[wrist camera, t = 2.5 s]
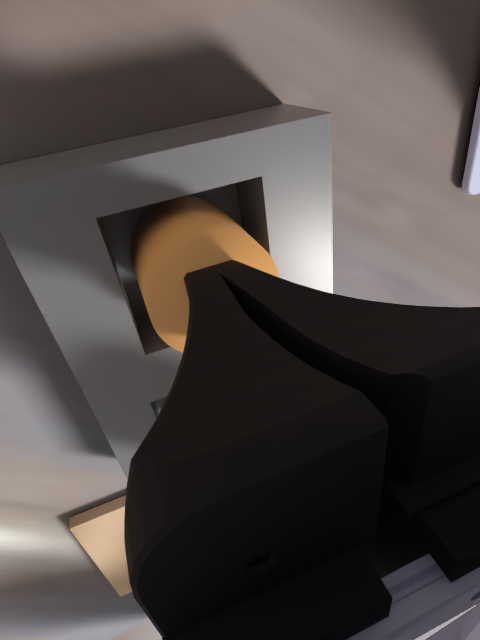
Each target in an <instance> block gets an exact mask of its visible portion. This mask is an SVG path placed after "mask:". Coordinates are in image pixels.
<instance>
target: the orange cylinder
mask: <svg viewBox="0 0 480 640" xmlns="http://www.w3.org/2000/svg"><path fill="white" fill-rule="evenodd" d="M130 256H131V262H132V266H133V269H134V272H135V275H136V278H137V281H138V284H139V287H140V290H141V293H142V296H143V299H144V302H145V305H146V308H147V311H148V314H149V317H150V320H151V322H152V325H153V327H154V329H155V331H156V332H157V334H158V335H159V336H160V338H161V339H162V340H163V341H164V342H165V343H167V344H168V345H169V346H171V347H172V348H174V349H175V350H178V351H180V352H182V353H183V350H184V346H185V342H186V336H187V329H188V320H189V298H188V294H187V290H186V286H185V283H184V279H183V278H184V277H185V275H186V274H187V273H189V272H192V271H196V270H199V269H203V268H206V267H209V266H213V265H216V264H219V263H223V262H226V261H229V260H235V261H238V262H241V263H243V264H246V265H248V266H251V267H253V268H256V269H258V270H261V271H263V272H266V273H268V274H271V275H274V276H276V277H279V274H278V270H277V267H276V265H275V263H274V261H273V259H272V257H271V256H270V255H269V253H268V252H267V251H266V250H265V249H264V248H263V247H262V246H261V245H260V244H259V243H258V242H256V241H255V240H254V239H253V238H252V237H251V236H250V235H249V234H248V233H247V232H246V231H245V230H244V229H243V228H241V227H240V226H239V225H238V224H237V223H236V222H235V221H234V220H233V219H232V218H231V217H230V216H229V215H227V214H226V213H225V212H224V211H223V210H222V209H221V208H220V207H218V206H217V205H216V204H214V203H212V202H211V201H209V200H206V199H203V198H199V197H194V196H182V197H178V198H174V199H170V200H166V201H163V202H161V203H159V204H157V205H156V206H154V207H153V208H151V209H150V210H149V211H148V212H147V213H146V214H145V215H144V216H143V217H142V218H141V220H140V221H139V223H138V224H137V226H136V228H135V230H134V233H133V236H132V240H131V245H130Z"/></svg>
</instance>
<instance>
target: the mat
mask: <svg viewBox="0 0 480 640" xmlns="http://www.w3.org/2000/svg"><path fill="white" fill-rule="evenodd" d="M125 500H126V495H124V496H122V497H119V498H117V499H115V500H112V501H110V502H107V503H105V504H102V505H100V506H97V507H95V508H92V509H90V510H87V511H85V512H82V513H80V514H77V515H75V516H72V517H70V518H69V529H70V531H71V532H72V533H73V535H74V536H75V537H76V538H77V540H78V541H79V542H80V544H81V545H82V546H83V548H84V549H85V550H86V552H87V553H88V554H89V556H90V557H91V558H92V560H93V561H94V562H95V564H96V565H97V566H98V568H99V569H100V570H101V572H102V573H103V574H104V576H105V577H106V578H107V580H108V581H109V582H110V584H111V585H112V586H113V588H114V589H115V590H116V592H117V593H118V594H119V596H120V597H122V596H124V595H126V594H128V593H131V592H132V589H131V586H130V583H129V575H128V568H127V560H126V552H125V541H124V516H125Z"/></svg>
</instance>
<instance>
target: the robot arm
mask: <svg viewBox="0 0 480 640" xmlns="http://www.w3.org/2000/svg"><path fill="white" fill-rule="evenodd" d="M462 189H463V192H465V193H467V194H470V195H476V194H479V193H480V88H479V93H478V99H477V104H476V110H475V115H474V121H473V127H472V132H471V138H470V143H469V149H468V154H467V160H466V165H465V171H464V176H463V182H462ZM183 279H184V283H185V286H186V290H187V294H188V298H189V320H188V329H187V336H186V342H185V346H184V350H183V354H182V358H181V361H180V364H179V367H178V370H177V374H176V377H175V379H174V382H173V384H172V387H171V389H170V391H169V393H168V395H167V398H166V400H165V402H164V404H163V406H162V408H161V410H160V412H159V414H158V416H157V418H156V420H155V422H154V424H153V425H152V427H151V428H150V430H149V432H148V433H147V435H146V436H145V438H144V440H143V441H142V443H141V444H140V446H139V448H138V449H137V451H136V453H135V454H134V456H133V457H132V459H131V462H130V468H129V475H128V482H127V490H126V500H125V516H124V541H125V552H126V560H127V568H128V575H129V583H130V586H131V589H132V592H133V595H134V598H135V599H136V601H137V602H138V603H139V605H140V606H141V608H142V609H143V610H144V612H145V613H146V615H147V616H148V618H149V619H150V620H151V622H152V623H153V625H154V626H155V627H156V629H157V630H158V632H159V633H160V634H161V636H162V639H163V640H414V639H416V638H417V637H419V636H421V635H423V634H425V633H427V632H428V631H430V630H432V629H434V628H435V627H437V626H439V625H441V624H442V623H444V622H446V621H448V620H449V619H451V618H453V617H455V616H457V615H458V614H460V613H462V612H464V611H465V610H467V609H469V608H471V607H472V606H474V605H476V604H477V605H476V607H474V608H473V609H471V610H470V611H468V612H466V613H465V614H463V615H462V616H461V617H459V618H458V619H456V620H454V621H453V622H451V623H450V624H449V625H447V626H445V627H444V628H442V629H441V630H439V631H438V632H436V633H435V634H433V635H432V636H430V637H429V638H427V639H426V640H480V307H463V308H460V307H430V306H413V305H400V304H392V303H383V302H375V301H368V300H362V299H356V298H351V297H346V296H341V295H336V294H332V293H328V292H324V291H320V290H316V289H313V288H309V287H306V286H303V285H299V284H296V283H293V282H290V281H287V280H285V279H282V278H279V277H276V276H274V275H271V274H268V273H266V272H263V271H261V270H258V269H256V268H253V267H251V266H248V265H246V264H243V263H241V262H238V261H235V260H229V261H226V262H223V263H219V264H216V265H213V266H209V267H206V268H203V269H199V270H196V271H192V272H189V273H187V274H186V275H185V277H184V278H183Z"/></svg>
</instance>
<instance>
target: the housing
mask: <svg viewBox="0 0 480 640" xmlns="http://www.w3.org/2000/svg"><path fill="white" fill-rule="evenodd" d="M182 196H194V197H199V198H203V199H206V200H209V201H211V202H212V203H214V204H216V205H217V206H218V207H220V208H221V209H222V210H223V211H224V212H225V213H226V214H227V215H229V216H230V217H231V218H232V219H233V220H234V221H235V222H236V223H237V224H238V225H239V226H240V227H241V228H243V229H244V230H245V231H246V232H247V233H248V234H249V235H250V236H251V237H252V238H253V239H254V240H255V241H256V242H258V243H259V244H260V245H261V246H262V247H263V248H264V249H265V250H266V251H267V252H268V253H269V255H270V256H271V257H272V259H273V261H274V263H275V265H276V267H277V270H278V274H279V278H282V279H285V280H287V281H290V282H293V283H296V284H299V285H303V286H306V287H309V288H313V289H316V290H320V291H324V292H328V293H332V294H333V259H332V113H331V112H326V111H320V110H315V109H310V108H304V107H299V106H294V105H288V104H280V105H276V106H271V107H266V108H262V109H257V110H253V111H248V112H243V113H239V114H234V115H229V116H225V117H220V118H215V119H211V120H206V121H201V122H197V123H192V124H188V125H183V126H178V127H174V128H169V129H164V130H160V131H155V132H150V133H146V134H141V135H137V136H132V137H127V138H123V139H118V140H113V141H109V142H104V143H99V144H95V145H90V146H86V147H81V148H76V149H72V150H67V151H62V152H58V153H53V154H48V155H44V156H39V157H35V158H30V159H25V160H21V161H16V162H11V163H7V164H2V165H0V234H1V235H2V237H3V239H4V241H5V243H6V245H7V247H8V249H9V251H10V253H11V255H12V257H13V259H14V261H15V263H16V264H17V266H18V268H19V270H20V272H21V274H22V276H23V278H24V280H25V282H26V284H27V286H28V288H29V290H30V292H31V293H32V295H33V297H34V299H35V301H36V303H37V305H38V307H39V309H40V311H41V313H42V315H43V317H44V319H45V321H46V323H47V324H48V326H49V328H50V330H51V332H52V334H53V336H54V338H55V340H56V342H57V344H58V346H59V348H60V350H61V352H62V353H63V355H64V357H65V359H66V361H67V363H68V365H69V367H70V369H71V371H72V373H73V375H74V377H75V379H76V381H77V382H78V384H79V386H80V388H81V390H82V392H83V394H84V396H85V398H86V400H87V402H88V404H89V406H90V408H91V410H92V412H93V413H94V415H95V417H96V419H97V421H98V423H99V425H100V427H101V429H102V431H103V433H104V435H105V437H106V439H107V441H108V442H109V444H110V446H111V448H112V450H113V452H114V454H115V456H116V458H117V460H118V462H119V464H120V466H121V468H122V470H123V471H124V473H125V475H126V477H127V479H128V475H129V468H130V462H131V459H132V457H133V456H134V454H135V453H136V451H137V449H138V448H139V446H140V444H141V443H142V441H143V440H144V438H145V436H146V435H147V433H148V432H149V430H150V428H151V427H152V425H153V424H154V422H155V420H156V418H157V416H158V414H159V412H160V410H161V408H162V406H163V404H164V402H165V400H166V398H167V395H168V393H169V391H170V389H171V387H172V384H173V382H174V379H175V377H176V374H177V370H178V367H179V364H180V361H181V358H182V354H183V353H182V352H180V351H178V350H175V349H174V348H172V347H171V346H169V345H168V344H167V343H165V342H164V341H163V340H162V339H161V338H160V336H159V335H158V334H157V332H156V331H155V329H154V327H153V325H152V322H151V320H150V317H149V314H148V311H147V308H146V305H145V302H144V299H143V296H142V293H141V290H140V287H139V284H138V281H137V278H136V275H135V272H134V269H133V266H132V262H131V256H130V245H131V240H132V236H133V233H134V230H135V228H136V226H137V224H138V223H139V221H140V220H141V218H142V217H143V216H144V215H145V214H146V213H147V212H148V211H149V210H150V209H151V208H153V207H154V206H156V205H157V204H159V203H161V202H163V201H166V200H170V199H174V198H178V197H182Z"/></svg>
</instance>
